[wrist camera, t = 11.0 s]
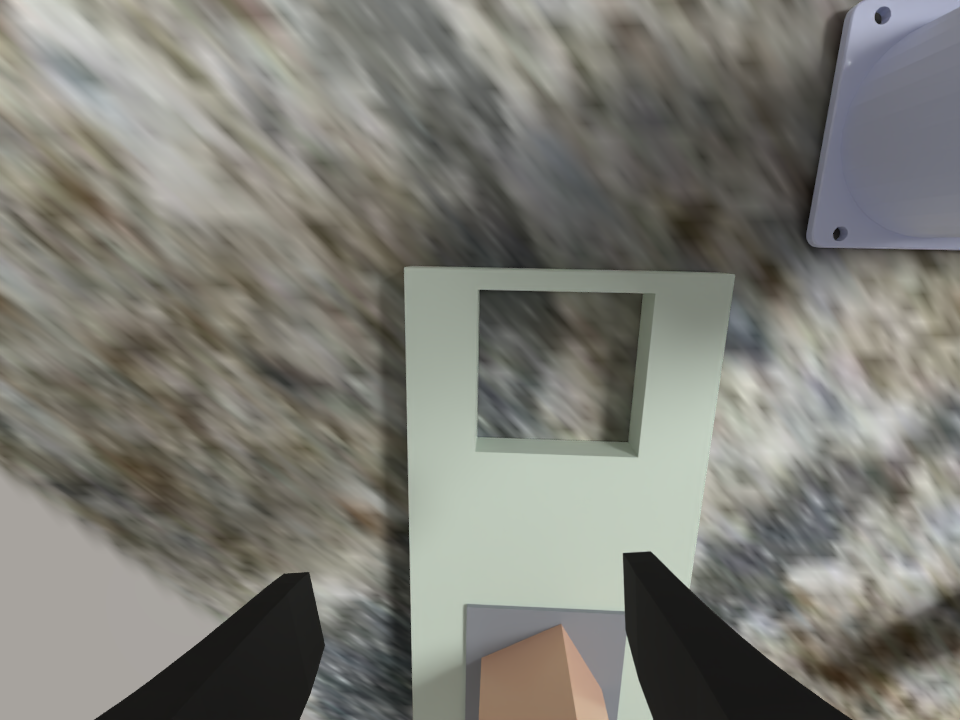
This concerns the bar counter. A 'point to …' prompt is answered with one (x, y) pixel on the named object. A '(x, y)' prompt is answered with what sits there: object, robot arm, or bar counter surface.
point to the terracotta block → (539, 681)
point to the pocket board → (549, 484)
